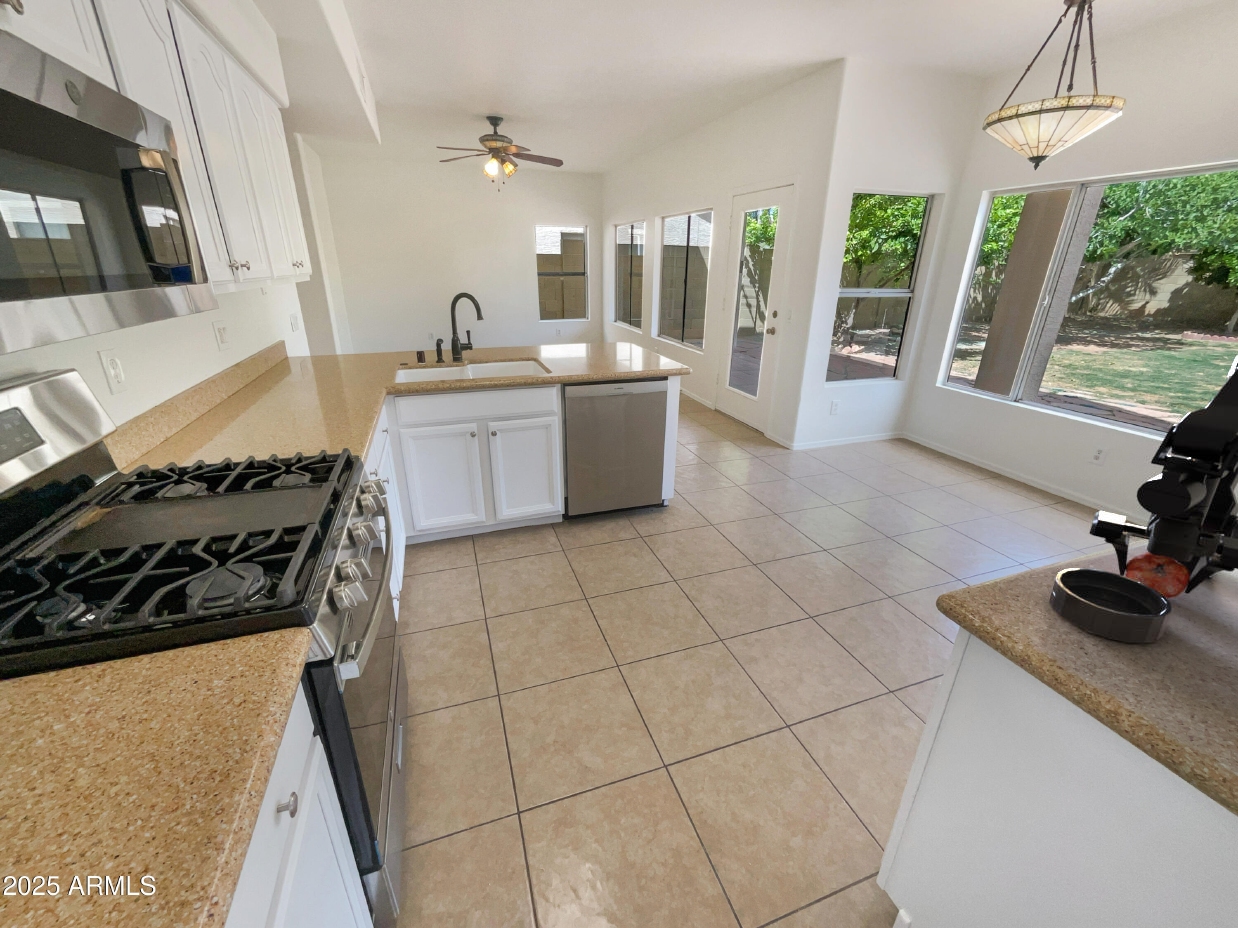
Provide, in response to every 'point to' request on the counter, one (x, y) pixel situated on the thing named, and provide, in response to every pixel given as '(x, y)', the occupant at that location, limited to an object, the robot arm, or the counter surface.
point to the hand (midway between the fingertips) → (1152, 583)
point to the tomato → (1159, 573)
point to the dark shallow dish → (1110, 605)
